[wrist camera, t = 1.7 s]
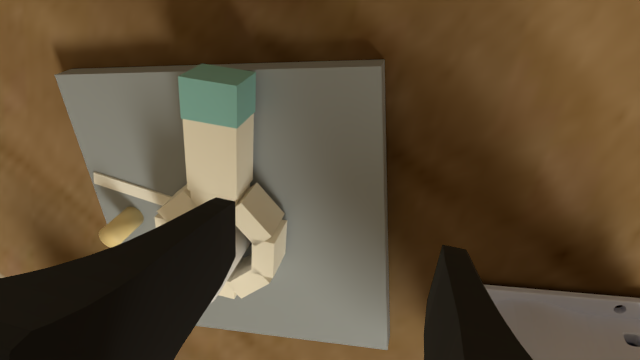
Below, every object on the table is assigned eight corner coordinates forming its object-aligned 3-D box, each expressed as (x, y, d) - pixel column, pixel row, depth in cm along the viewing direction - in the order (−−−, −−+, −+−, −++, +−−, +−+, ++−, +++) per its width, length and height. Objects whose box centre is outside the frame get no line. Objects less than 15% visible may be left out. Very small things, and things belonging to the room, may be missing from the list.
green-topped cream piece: (283, 281, 25) (271, 309, 23) (180, 257, 26) (161, 281, 24) (296, 78, 19) (281, 93, 17) (164, 57, 20) (137, 69, 18)
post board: (384, 59, 19) (362, 104, 14) (389, 334, 27) (376, 429, 22) (71, 68, 23) (-34, 106, 18) (150, 305, 31) (91, 380, 26)
